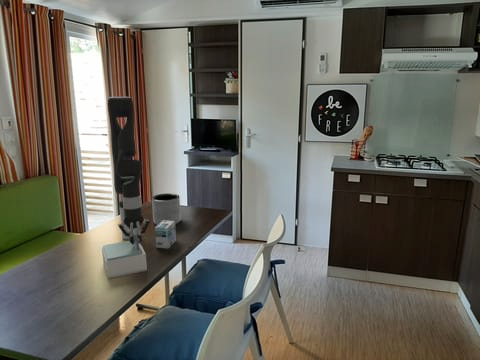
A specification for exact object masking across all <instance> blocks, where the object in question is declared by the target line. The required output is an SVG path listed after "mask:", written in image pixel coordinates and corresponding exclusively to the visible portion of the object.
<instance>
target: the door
mask: <svg viewBox="0 0 480 360" xmlns="http://www.w3.org/2000/svg"><path fill="white" fill-rule="evenodd" d="M133 240H134V244H133V245H132V243H130V240H126V241H120V242H114V243H110V244H104V245H102V247H103V248H104V252H105V255H106V258H107V260H111V259H116V258H121V257H126V256H131V255H136V254H141V253H142V252H141V250H140V248H139V241H140V239H139V238H138V236H137V234H136V232H135V231H134V230H133Z"/></svg>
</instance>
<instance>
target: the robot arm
mask: <svg viewBox="0 0 480 360" xmlns="http://www.w3.org/2000/svg"><path fill="white" fill-rule="evenodd" d="M107 111H108V118H109V124H110V137H111V152H112V160H113V161H112V162H113V175H114V177H113V183H114V190H115V193H116V194H117V195H122V199H121V200H119V203H118V205H119V215H120V216H119V217H120V223H118V225H117V226H118V228H119V230H120V231H121V235H122V239H123V240H126V241H130V243H132V245H133V244H134V240H133V230H134V231H135V232H136V234H137V236H138V238H139V239H140V241H139V243H140V244H141V243H142V235H143V234H145V233H146V231H147V229H148V227H149V225H150V220H149V219H148V218H147V219H145V218H144V216H143V209H142V206H143V204H142V203H143V202H142V197H141V189H140V184H141V183H140V182H141V176H142V173H143V163H142V162H141V160H139V159H131V158H134V157H135V156H136V154H137V149H136V143H135V107H134V101H133V98H132V97H130V96H110V97H108V99H107ZM117 118H120V119H121V118H126V121H125V124H124V126H123V128H122V127H121V125H120V124H119V122H118V119H117ZM142 224H143V225H142ZM141 226H142V227H141Z"/></svg>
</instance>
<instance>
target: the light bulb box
mask: <svg viewBox="0 0 480 360" xmlns="http://www.w3.org/2000/svg"><path fill="white" fill-rule="evenodd" d="M154 231H155V232H154V234H155V247H156V248H159V249H170V247H172V245H173V244H174V243H175V242H176V241H177V236H176V224H175V221H166V220H163V221H162V222H161V223H160V224H158V225H156V226H155V227H154Z"/></svg>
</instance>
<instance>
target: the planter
mask: <svg viewBox="0 0 480 360" xmlns="http://www.w3.org/2000/svg"><path fill="white" fill-rule="evenodd" d="M180 199H181V198H180V195H179V194H177V193H170V192H168V193H167V192H166V193H160V194H159V193H158V194H156V195H154V196H152V197H151V204H152V205H151V207H152V222H153V224H155V225H156V226H157V225H158V224H160V223H161V222H162V221H163V220H166V221H175V225H177V224H179V223H180V222H181V220H182V219H181V215H182V214H181V200H180Z"/></svg>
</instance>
